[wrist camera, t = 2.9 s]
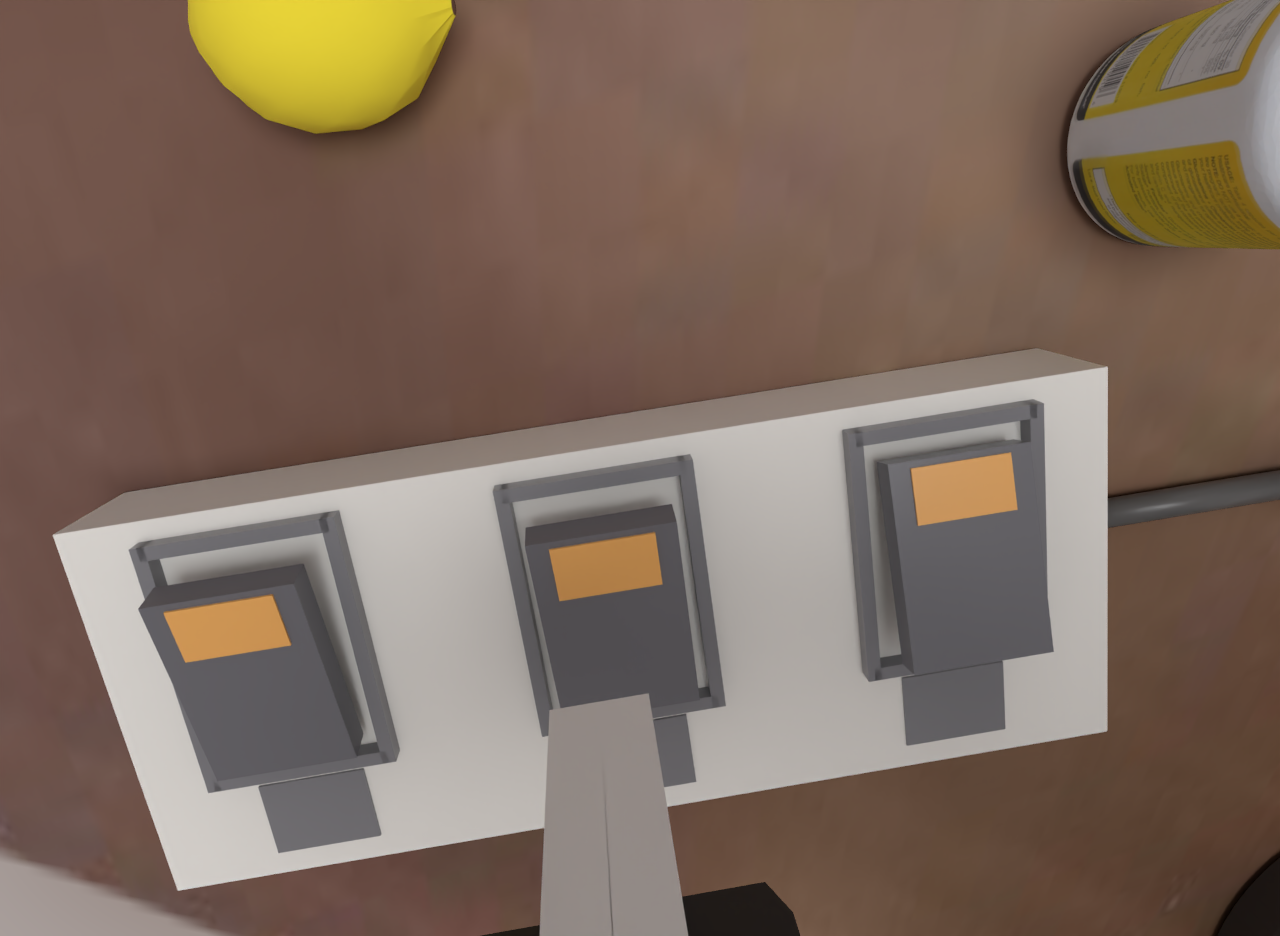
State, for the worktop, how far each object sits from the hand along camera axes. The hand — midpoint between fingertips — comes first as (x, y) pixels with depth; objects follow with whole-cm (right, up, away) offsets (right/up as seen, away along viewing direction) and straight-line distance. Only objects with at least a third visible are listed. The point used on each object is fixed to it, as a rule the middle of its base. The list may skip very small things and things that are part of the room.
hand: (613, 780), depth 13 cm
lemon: (-8, +17, +12) cm, 22 cm away
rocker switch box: (+5, +1, +17) cm, 18 cm away
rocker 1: (-10, -1, +11) cm, 15 cm away
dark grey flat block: (0, +1, +12) cm, 11 cm away
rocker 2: (+10, +2, +12) cm, 15 cm away
